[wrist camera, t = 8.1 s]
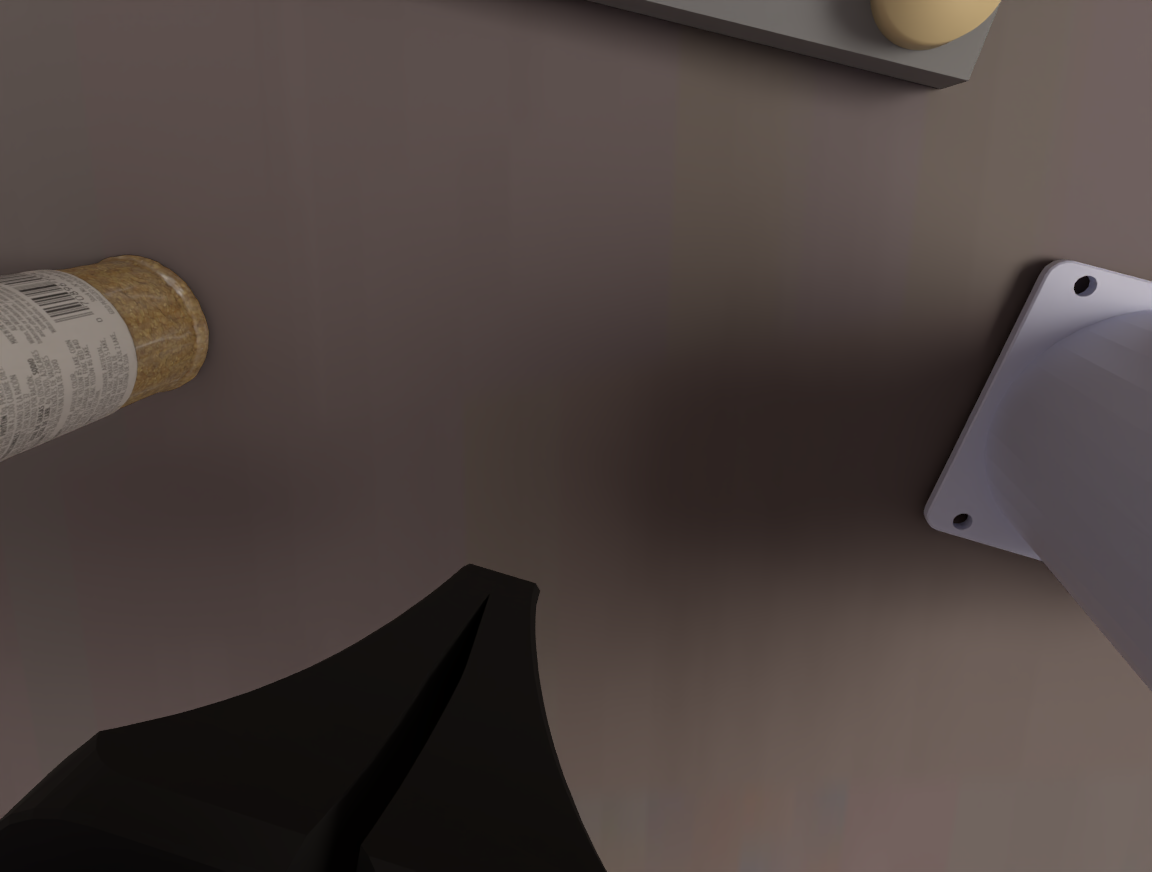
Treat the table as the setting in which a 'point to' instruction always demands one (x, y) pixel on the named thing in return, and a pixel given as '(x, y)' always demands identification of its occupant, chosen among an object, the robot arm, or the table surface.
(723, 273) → the table surface
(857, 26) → the levelling base
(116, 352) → the sprinkles bottle
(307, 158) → the table surface
